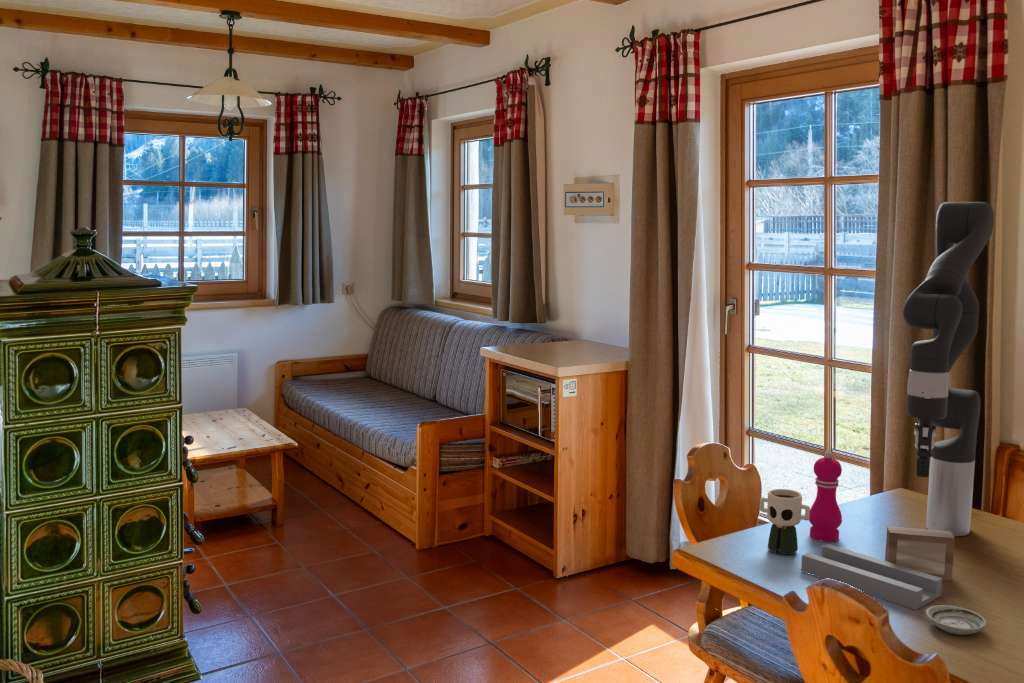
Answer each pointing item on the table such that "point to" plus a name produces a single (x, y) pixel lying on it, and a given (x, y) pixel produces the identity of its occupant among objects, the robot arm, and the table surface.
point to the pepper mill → (826, 500)
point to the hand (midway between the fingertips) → (922, 471)
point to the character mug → (784, 518)
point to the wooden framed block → (921, 550)
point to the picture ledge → (874, 576)
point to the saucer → (955, 619)
